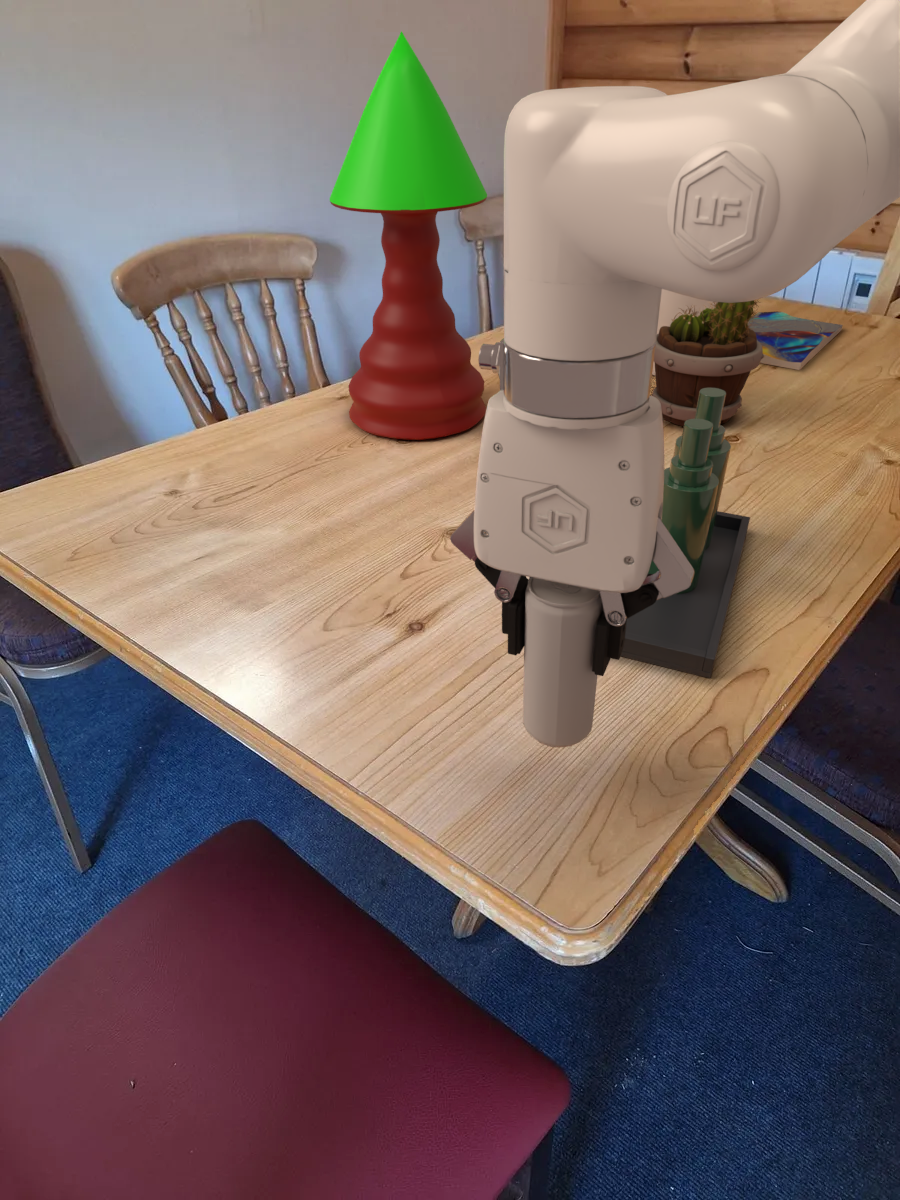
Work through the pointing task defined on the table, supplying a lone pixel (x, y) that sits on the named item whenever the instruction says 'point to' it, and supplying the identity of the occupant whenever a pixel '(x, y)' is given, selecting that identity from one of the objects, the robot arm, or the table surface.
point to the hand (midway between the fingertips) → (561, 650)
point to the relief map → (790, 338)
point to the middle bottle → (690, 495)
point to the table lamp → (411, 257)
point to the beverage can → (559, 661)
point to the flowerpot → (705, 358)
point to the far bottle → (713, 441)
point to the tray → (692, 609)
